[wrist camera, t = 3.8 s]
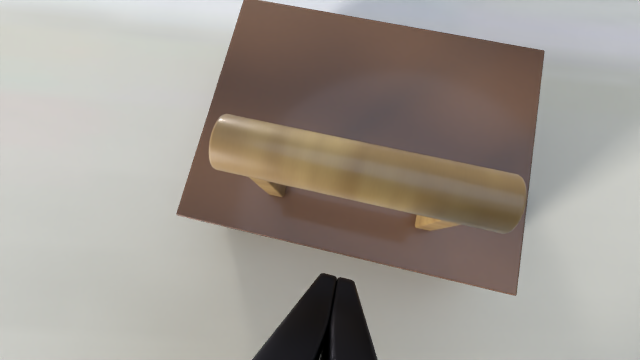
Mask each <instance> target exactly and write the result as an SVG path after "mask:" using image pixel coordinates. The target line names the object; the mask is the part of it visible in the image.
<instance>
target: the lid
mask: <svg viewBox="0 0 640 360" xmlns="http://www.w3.org/2000/svg"><path fill="white" fill-rule="evenodd" d="M543 60H544V50H538V49H532V48H527V47H521V46H515V45H510V44H504V43H499V42H493V41H487V40H482V39H476V38H470V37H465V36H459V35H453V34H448V33H442V32H436V31H431V30H425V29H419V28H414V27H408V26H403V25H397V24H391V23H386V22H380V21H374V20H369V19H363V18H357V17H352V16H346V15H340V14H335V13H329V12H324V11H318V10H312V9H307V8H301V7H295V6H290V5H284V4H278V3H273V2H267V1H261V0H244V1H243V4H242V7H241V10H240V14H239V17H238V20H237V23H236V26H235V30H234V33H233V36H232V39H231V42H230V45H229V49H228V52H227V55H226V58H225V61H224V64H223V68H222V71H221V74H220V77H219V80H218V83H217V87H216V90H215V93H214V96H213V99H212V103H211V106H210V109H209V112H208V115H207V118H206V122H205V125H204V128H203V131H202V134H201V137H200V141H199V144H198V147H197V150H196V153H195V156H194V160H193V163H192V166H191V169H190V172H189V175H188V179H187V182H186V185H185V188H184V191H183V195H182V198H181V201H180V204H179V207H178V210H177V214H176V215H178V216H182V217H187V218H191V219H195V220H199V221H203V222H208V223H212V224H216V225H220V226H224V227H229V228H233V229H237V230H241V231H245V232H250V233H254V234H258V235H262V236H266V237H271V238H275V239H279V240H283V241H287V242H292V243H296V244H300V245H304V246H308V247H313V248H317V249H321V250H325V251H329V252H334V253H338V254H342V255H346V256H350V257H355V258H359V259H363V260H367V261H371V262H376V263H380V264H384V265H388V266H392V267H397V268H401V269H405V270H409V271H413V272H418V273H422V274H426V275H430V276H434V277H439V278H443V279H447V280H451V281H455V282H460V283H464V284H468V285H472V286H476V287H481V288H485V289H489V290H493V291H497V292H502V293H506V294H510V295H514V296H515V295H516V294H517V285H518V277H519V268H520V259H521V251H522V242H523V233H524V225H525V216H526V207H527V199H528V190H529V181H530V173H531V164H532V155H533V147H534V138H535V129H536V121H537V112H538V103H539V94H540V86H541V77H542V68H543Z"/></svg>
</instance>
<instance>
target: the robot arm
mask: <svg viewBox="0 0 640 360" xmlns="http://www.w3.org/2000/svg"><path fill="white" fill-rule="evenodd" d="M319 359H320V360H377V356H376V353H375V349H374V346H373V343H372V339H371V336H370V333H369V329H368V326H367V323H366V319H365V316H364V313H363V309H362V306H361V303H360V299H359V296H358V293H357V289H356V286H355V283H354V281H352V280H349V279H345V278H341V277H340V278H338V279H337V278H336V276H333V275H329V274H325V273H322V274H320V275H319V276H318V278H317V279H316V280H315V281H314V283H313V284H312V285H311V286H310V288H309V289H308V290H307V291H306V293H305V294H304V295H303V296H302V298H301V299H300V300H299V301H298V303H297V304H296V305H295V306H294V308H293V309H292V310H291V311H290V313H289V314H288V315H287V317H286V318H285V319H284V320H283V322H282V323H281V324H280V325H279V327H278V328H277V329H276V330H275V332H274V333H273V334H272V335H271V337H270V338H269V339H268V340H267V342H266V343H265V344H264V345H263V347H262V348H261V349H260V350H259V352H258V353H257V354H256V355H255V357H254V358H253V359H252V360H319Z"/></svg>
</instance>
